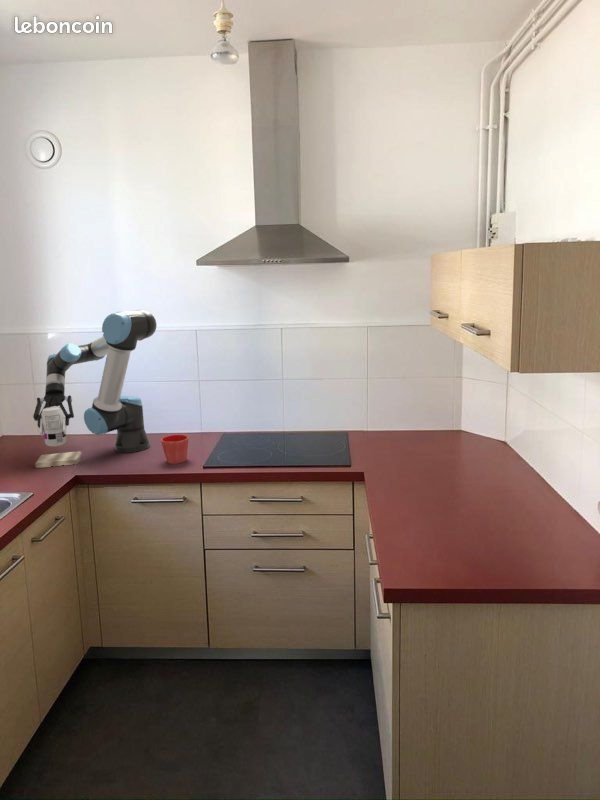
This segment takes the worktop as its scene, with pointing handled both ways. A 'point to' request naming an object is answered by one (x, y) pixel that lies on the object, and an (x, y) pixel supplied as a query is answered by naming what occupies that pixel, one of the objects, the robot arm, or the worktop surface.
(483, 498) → the worktop surface
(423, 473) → the worktop surface
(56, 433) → the supplement can
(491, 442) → the worktop surface
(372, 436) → the worktop surface
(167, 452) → the flower pot
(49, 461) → the birch board
